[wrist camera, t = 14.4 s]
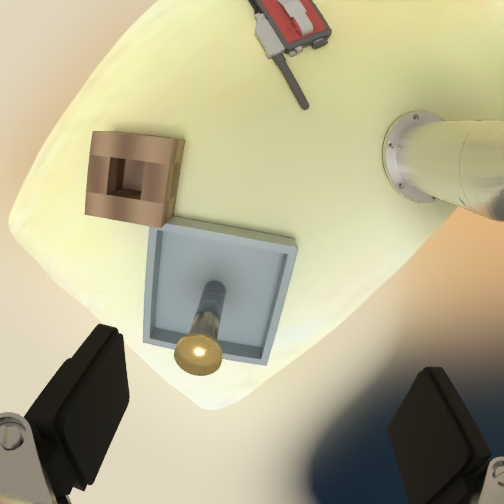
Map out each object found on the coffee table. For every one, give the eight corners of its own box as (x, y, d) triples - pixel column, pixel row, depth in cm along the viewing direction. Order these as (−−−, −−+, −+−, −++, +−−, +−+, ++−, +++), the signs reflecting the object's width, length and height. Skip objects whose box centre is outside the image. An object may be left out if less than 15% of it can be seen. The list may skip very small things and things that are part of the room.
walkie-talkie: (224, -8, 31) (297, 113, 37) (221, -23, 27) (302, 110, 33) (283, -30, 30) (357, 88, 36) (286, -45, 26) (368, 83, 32)
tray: (294, 238, 42) (298, 247, 38) (265, 350, 48) (266, 365, 44) (158, 213, 41) (150, 220, 37) (150, 328, 47) (143, 342, 43)
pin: (234, 278, 43) (224, 343, 29) (228, 308, 44) (218, 379, 30) (200, 272, 43) (175, 333, 29) (196, 302, 44) (172, 370, 30)
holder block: (185, 139, 38) (173, 139, 32) (173, 216, 41) (160, 228, 35) (113, 131, 37) (92, 131, 32) (105, 204, 40) (84, 214, 35)
